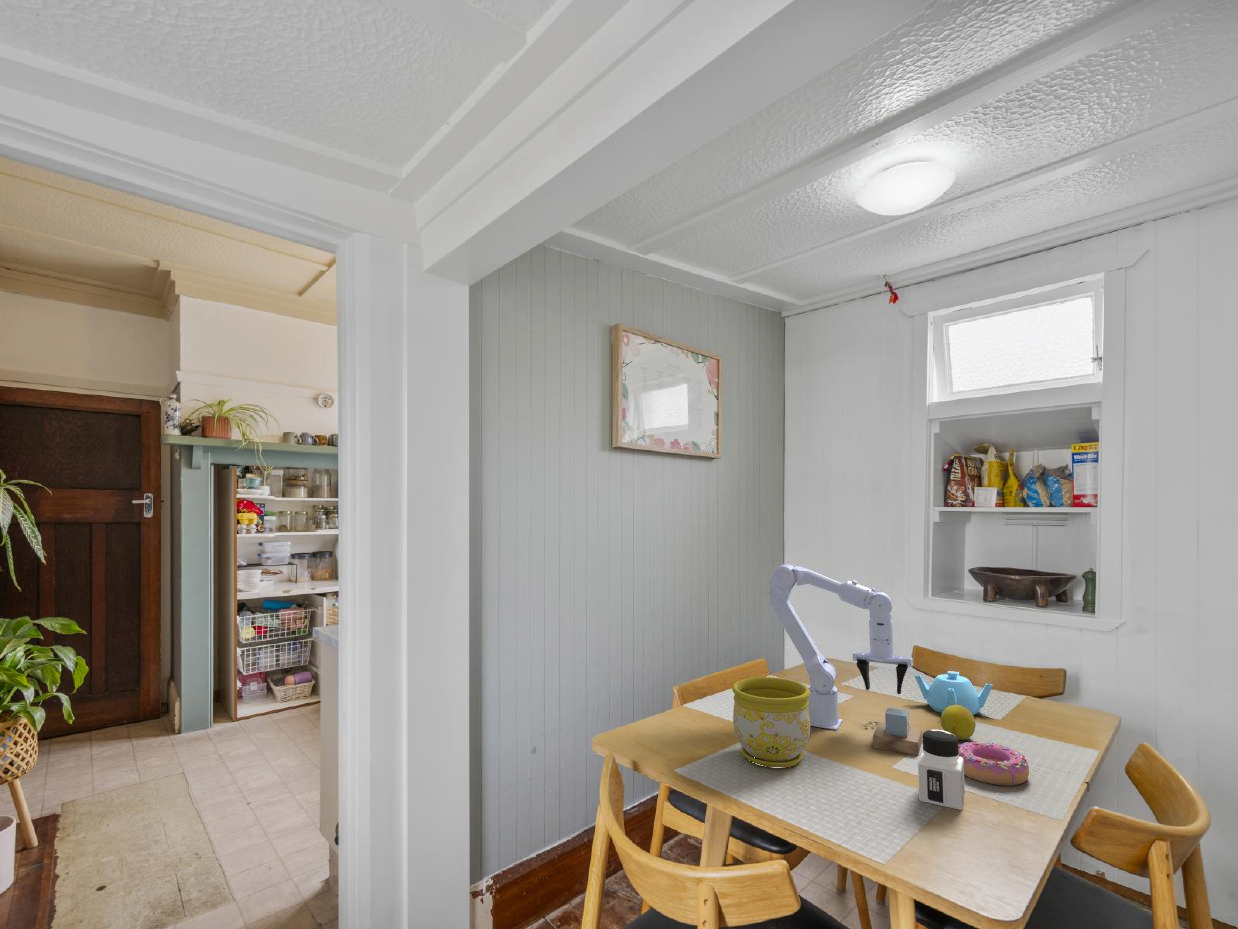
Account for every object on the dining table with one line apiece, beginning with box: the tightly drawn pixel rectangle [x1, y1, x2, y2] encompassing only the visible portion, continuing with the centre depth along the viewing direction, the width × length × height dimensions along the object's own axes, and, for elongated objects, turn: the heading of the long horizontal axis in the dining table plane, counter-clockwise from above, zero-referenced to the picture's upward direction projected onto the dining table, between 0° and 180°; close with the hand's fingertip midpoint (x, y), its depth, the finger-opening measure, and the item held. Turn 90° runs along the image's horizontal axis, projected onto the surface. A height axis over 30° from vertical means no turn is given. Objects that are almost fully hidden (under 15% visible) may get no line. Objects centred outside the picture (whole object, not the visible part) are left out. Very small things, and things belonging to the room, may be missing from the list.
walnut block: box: [872, 721, 923, 756], centre depth 156 cm, size 10×10×3 cm
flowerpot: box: [731, 676, 811, 768], centre depth 149 cm, size 18×18×16 cm
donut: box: [958, 741, 1030, 786], centre depth 139 cm, size 14×14×5 cm
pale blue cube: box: [884, 707, 910, 737], centre depth 156 cm, size 5×5×5 cm
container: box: [917, 729, 966, 811], centre depth 128 cm, size 8×8×13 cm
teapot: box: [914, 670, 993, 716], centre depth 181 cm, size 15×15×11 cm
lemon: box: [940, 705, 976, 741], centre depth 160 cm, size 11×8×8 cm
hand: (883, 691), depth 165 cm, fingers open, 7 cm apart
